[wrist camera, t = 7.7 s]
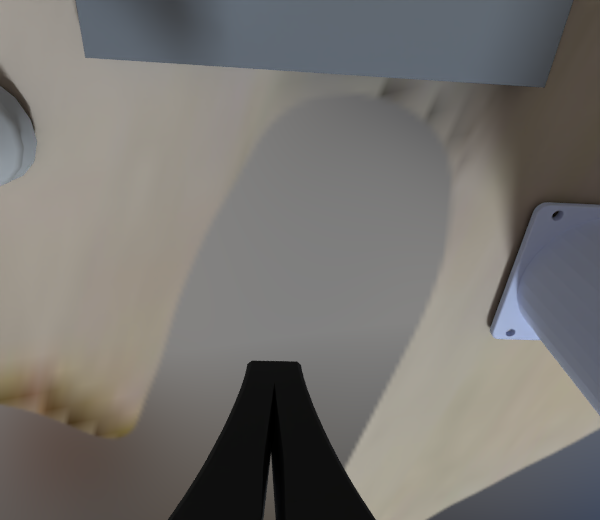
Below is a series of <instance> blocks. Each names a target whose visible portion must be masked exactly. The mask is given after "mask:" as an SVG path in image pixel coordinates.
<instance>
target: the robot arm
mask: <svg viewBox="0 0 600 520" xmlns="http://www.w3.org/2000/svg"><path fill="white" fill-rule="evenodd" d="M556 211H559V213H558V214H557V215H556V216H555V217H552V215H553V214H554V213H555V212H556ZM509 329H511V330H510V331H508V330H509ZM507 331H508V332H507ZM490 332H491V334H492V336H493V337H494V338H496V339H518V340H541V341H542V342H543V344H544V345H545V346H546V348H547V349H548V350H549V351H550V353H551V354H552V355H553V356H554V358H555V359H556V360H557V362H558V363H559V364H560V365H561V367H562V368H563V369H564V371H565V372H566V373H567V374H568V376H569V377H570V378H571V379H572V381H573V382H574V383H575V385H576V386H577V387H578V388H579V390H580V391H581V392H582V394H583V395H584V396H585V397H586V399H587V400H588V401H589V402H590V404H591V405H592V406H593V408H594V409H595V410H596V411H597V413H598V414H599V415H600V205H595V204H574V203H552V202H546V203H542V204H540V205H538V206H537V207H536V208H535V210H534V211H533V214H532V216H531V219H530V222H529V225H528V227H527V230H526V233H525V235H524V238H523V241H522V243H521V246H520V249H519V252H518V254H517V257H516V260H515V262H514V265H513V268H512V271H511V273H510V276H509V279H508V281H507V284H506V287H505V289H504V292H503V295H502V298H501V300H500V303H499V306H498V308H497V311H496V314H495V316H494V319H493V322H492V325H491V327H490ZM271 455H272V471H273V484H274V485H273V486H274V501H275V514H276V520H376V519H375V518H374V516H373V515H372V513H371V512H370V510H369V509H368V507H367V506H366V504H365V503H364V501H363V500H362V498H361V497H360V495H359V493H358V492H357V490H356V488H355V487H354V485H353V483H352V482H351V480H350V478H349V477H348V475H347V473H346V472H345V470H344V468H343V466H342V464H341V463H340V461H339V459H338V457H337V455H336V454H335V451H334V449H333V447H332V445H331V444H330V442H329V439H328V437H327V435H326V433H325V431H324V429H323V426H322V424H321V422H320V420H319V418H318V416H317V413H316V411H315V408H314V406H313V403H312V401H311V398H310V395H309V393H308V390H307V387H306V384H305V381H304V378H303V373H302V369H301V365H300V364H299V363H298V362H288V361H251V362H249V363H248V364H247V369H246V374H245V377H244V380H243V383H242V386H241V389H240V391H239V394H238V397H237V399H236V402H235V404H234V406H233V408H232V411H231V413H230V415H229V417H228V419H227V421H226V424H225V426H224V428H223V430H222V432H221V434H220V436H219V437H218V439H217V441H216V443H215V445H214V447H213V449H212V451H211V452H210V454H209V456H208V458H207V460H206V461H205V463H204V465H203V467H202V468H201V470H200V472H199V473H198V475H197V477H196V478H195V480H194V481H193V483H192V485H191V486H190V488H189V489H188V491H187V493H186V494H185V496H184V497H183V499H182V500H181V501H180V503H179V504H178V506H177V507H176V509H175V510H174V512H173V513H172V515H171V516H170V517H169V519H168V520H263V518H264V509H265V500H266V492H267V483H268V474H269V465H270V456H271Z"/></svg>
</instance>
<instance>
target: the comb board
mask: <svg viewBox="0 0 600 520" xmlns="http://www.w3.org/2000/svg"><path fill="white" fill-rule="evenodd" d="M572 3H573V0H76V5H77V11H78V17H79V23H80V29H81V34H82V40H83V46H84V52H85V58H100V59H115V60H131V61H146V62H161V63H177V64H192V65H207V66H222V67H238V68H253V69H268V70H284V71H299V72H314V73H330V74H345V75H360V76H376V77H391V78H406V79H422V80H437V81H452V82H467V83H483V84H498V85H513V86H529V87H545V84H546V81H547V78H548V75H549V72H550V69H551V66H552V63H553V60H554V57H555V54H556V51H557V48H558V45H559V42H560V39H561V36H562V33H563V30H564V27H565V24H566V21H567V18H568V15H569V12H570V9H571V6H572Z"/></svg>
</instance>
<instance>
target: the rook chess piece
mask: <svg viewBox="0 0 600 520" xmlns="http://www.w3.org/2000/svg"><path fill="white" fill-rule="evenodd" d="M36 145H37V140H36V137H35V133H34V130H33V126H32V123H31V120H30V118H29V117H28V115H27V114H26V112H25V111H24V109H23V108H22V107H21V105H20V104H19V102H18V101H17V99H16V98H15V97H14V96H12V95H11V94H10V93H9V92H7V91H6V90H5V89H4V88H2V87H1V86H0V186H1V185H4V184H6V183H8V182H11V181H12V180H14V179H16V178H19V177H21V176H23V175H24V174H25V173H26V171H27V170H28V169H29V167H30V166H31V165H32V164H33V162H34V160H35V152H36Z"/></svg>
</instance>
